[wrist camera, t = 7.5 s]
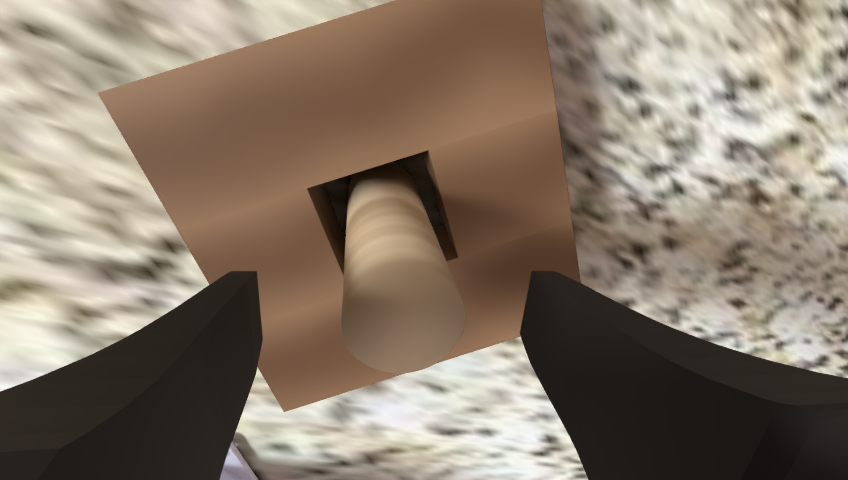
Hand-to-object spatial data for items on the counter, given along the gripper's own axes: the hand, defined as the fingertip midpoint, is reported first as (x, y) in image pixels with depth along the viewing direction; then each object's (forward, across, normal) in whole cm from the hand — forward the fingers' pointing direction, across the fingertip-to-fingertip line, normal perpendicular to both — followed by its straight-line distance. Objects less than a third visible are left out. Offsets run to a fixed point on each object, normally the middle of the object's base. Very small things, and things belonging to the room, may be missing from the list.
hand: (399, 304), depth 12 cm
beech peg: (+9, 0, 0) cm, 9 cm away
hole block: (+9, 0, 0) cm, 9 cm away
